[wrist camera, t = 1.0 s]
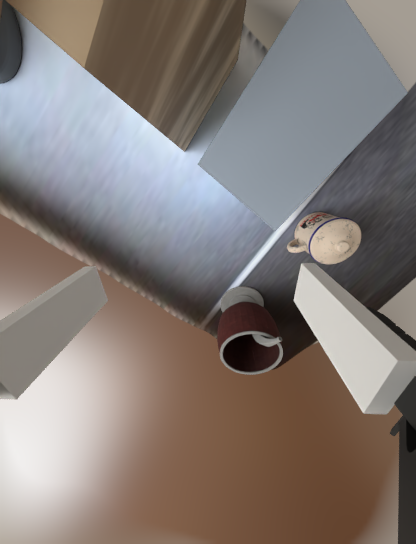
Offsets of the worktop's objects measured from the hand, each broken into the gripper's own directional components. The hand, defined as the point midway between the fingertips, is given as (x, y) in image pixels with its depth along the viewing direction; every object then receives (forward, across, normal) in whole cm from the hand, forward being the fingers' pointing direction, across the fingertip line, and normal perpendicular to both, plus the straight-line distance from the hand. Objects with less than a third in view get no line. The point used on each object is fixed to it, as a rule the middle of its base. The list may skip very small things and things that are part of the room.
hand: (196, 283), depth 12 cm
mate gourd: (+33, +8, -26) cm, 42 cm away
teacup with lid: (+33, +22, -6) cm, 40 cm away
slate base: (+33, +9, +10) cm, 35 cm away
